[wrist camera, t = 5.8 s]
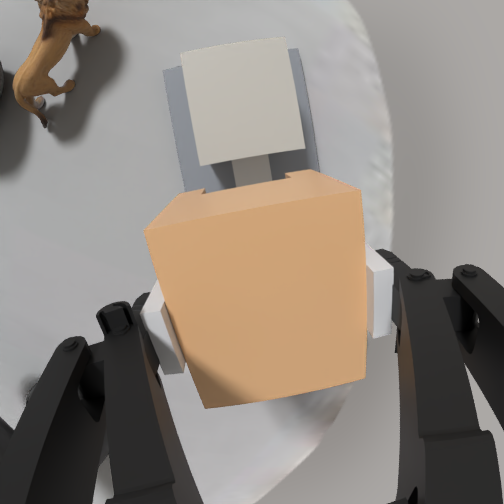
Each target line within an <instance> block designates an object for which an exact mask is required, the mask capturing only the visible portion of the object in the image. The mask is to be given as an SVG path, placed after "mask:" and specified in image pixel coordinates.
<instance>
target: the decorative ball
mask: <svg viewBox="0 0 504 504" xmlns="http://www.w3.org/2000/svg"><path fill="white" fill-rule="evenodd" d="M3 82H4V76H3V68H2V64H1V62H0V97H1V94H2V89H3Z"/></svg>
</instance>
